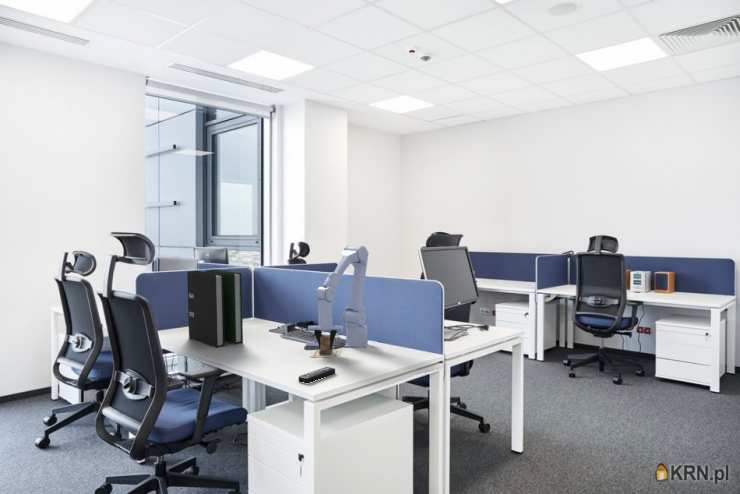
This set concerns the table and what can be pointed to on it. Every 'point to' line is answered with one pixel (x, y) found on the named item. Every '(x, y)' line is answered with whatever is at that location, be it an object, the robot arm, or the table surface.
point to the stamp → (325, 345)
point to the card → (334, 354)
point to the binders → (215, 307)
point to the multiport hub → (316, 375)
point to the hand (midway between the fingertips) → (325, 348)
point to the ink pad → (311, 346)
